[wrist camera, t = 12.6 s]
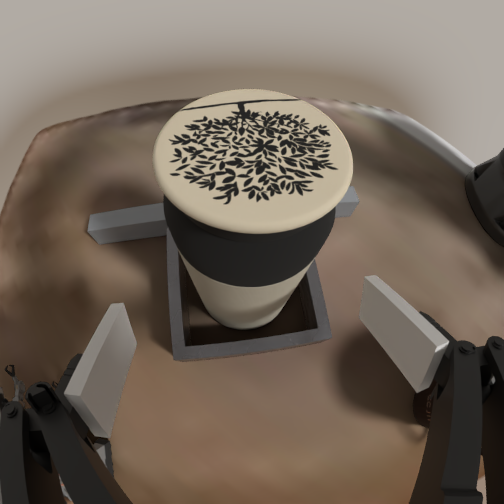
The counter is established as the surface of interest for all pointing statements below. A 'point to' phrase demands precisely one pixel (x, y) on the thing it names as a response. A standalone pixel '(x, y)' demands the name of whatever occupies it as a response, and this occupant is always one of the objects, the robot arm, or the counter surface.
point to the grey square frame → (186, 352)
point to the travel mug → (250, 196)
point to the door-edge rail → (163, 220)
